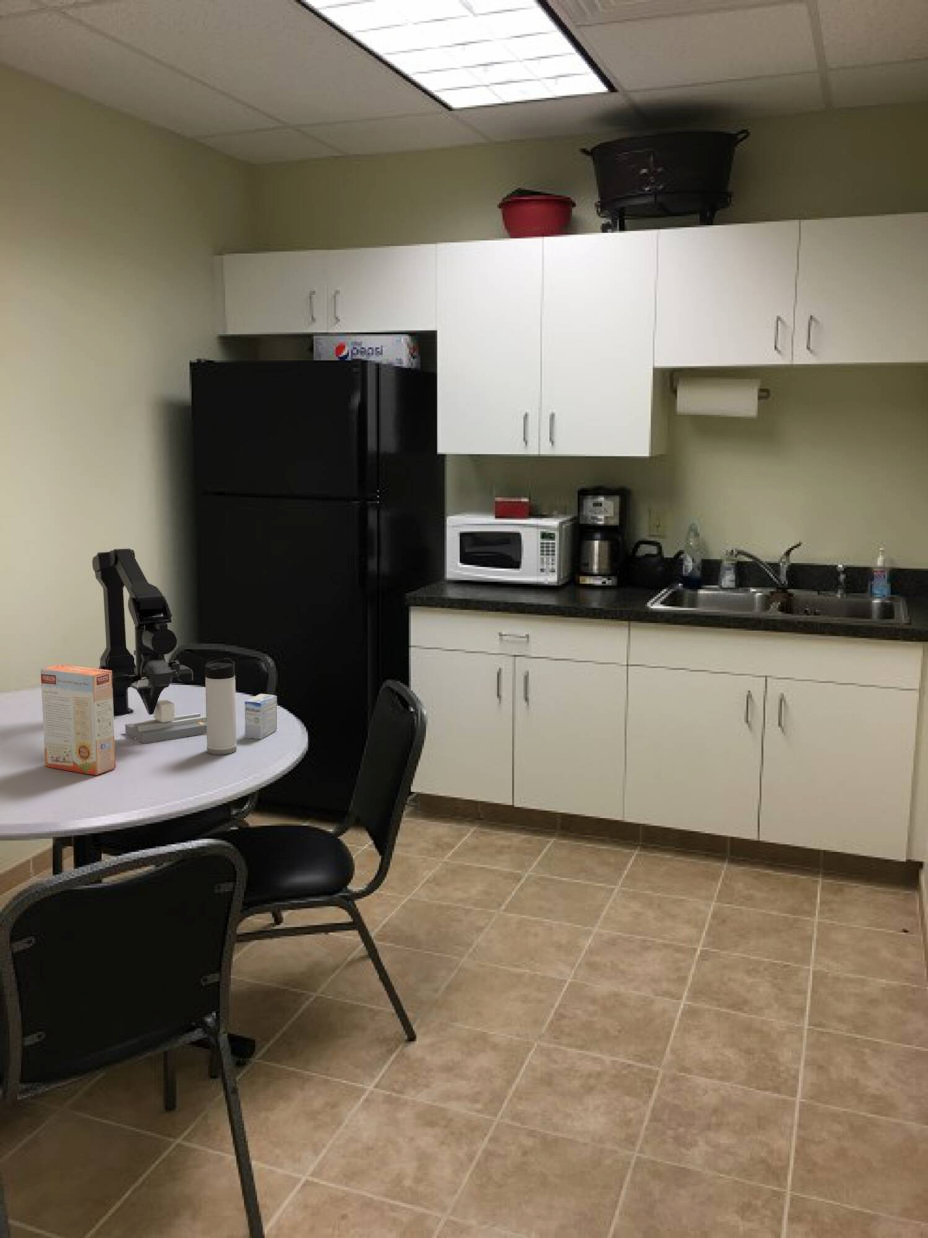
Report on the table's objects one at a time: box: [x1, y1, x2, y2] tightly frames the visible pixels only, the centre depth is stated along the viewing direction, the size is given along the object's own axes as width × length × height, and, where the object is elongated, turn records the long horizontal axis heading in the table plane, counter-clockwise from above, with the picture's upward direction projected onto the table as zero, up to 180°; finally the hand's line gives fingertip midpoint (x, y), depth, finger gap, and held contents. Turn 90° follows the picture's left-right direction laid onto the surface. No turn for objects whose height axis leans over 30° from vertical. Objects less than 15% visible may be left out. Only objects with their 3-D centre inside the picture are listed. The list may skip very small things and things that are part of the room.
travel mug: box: [204, 657, 237, 756], centre depth 232 cm, size 6×7×20 cm
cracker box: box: [40, 663, 116, 776], centre depth 218 cm, size 14×6×21 cm, turn 65°
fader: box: [152, 698, 175, 724], centre depth 245 cm, size 5×3×5 cm, turn 38°
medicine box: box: [244, 693, 278, 740], centre depth 246 cm, size 8×4×9 cm, turn 164°
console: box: [124, 712, 207, 745], centre depth 247 cm, size 11×17×3 cm, turn 128°
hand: (150, 714), depth 244 cm, fingers closed
